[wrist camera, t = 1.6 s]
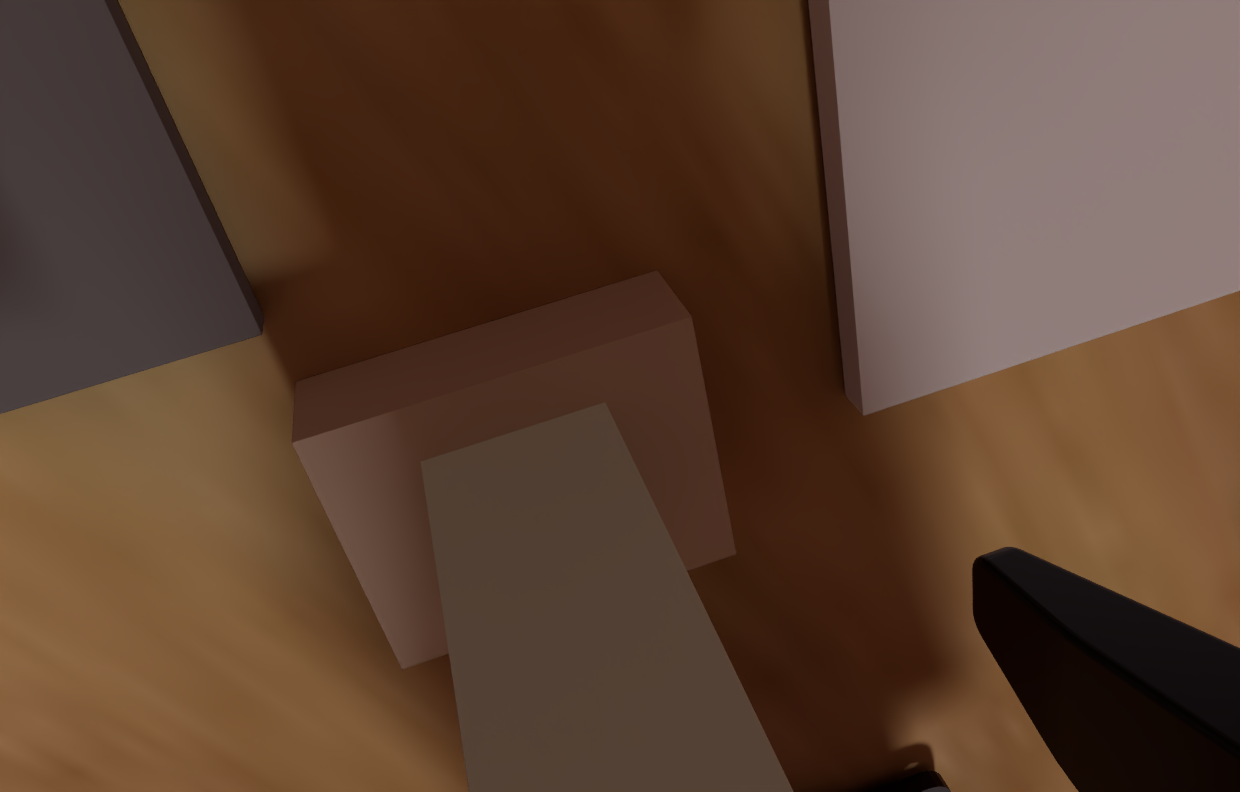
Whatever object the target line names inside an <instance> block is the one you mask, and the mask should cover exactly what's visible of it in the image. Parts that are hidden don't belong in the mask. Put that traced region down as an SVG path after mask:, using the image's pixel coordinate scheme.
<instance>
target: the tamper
mask: <svg viewBox="0 0 1240 792" xmlns="http://www.w3.org/2000/svg"><path fill="white" fill-rule="evenodd" d="M292 444H293V446H294V448H295V451H296V453H297V455H298V457H299V459H300V461H301V463H302V465H303V467H304V469H305V471H306V473H307V475H308V477H309V479H310V481H311V483H312V485H313V487H314V490H315V492H316V494H317V496H318V498H319V500H320V502H321V504H322V506H323V508H324V510H325V512H326V514H327V516H328V518H329V520H330V522H331V524H332V526H333V529H334V531H335V533H336V535H337V537H338V539H339V541H340V543H341V545H342V547H343V549H344V551H345V553H346V555H347V557H348V559H349V561H350V563H351V566H352V568H353V570H354V572H355V574H356V576H357V578H358V580H359V582H360V584H361V586H362V588H363V590H364V592H365V594H366V596H367V598H368V600H369V602H370V605H371V607H372V609H373V611H374V613H375V615H376V617H377V619H378V621H379V623H380V625H381V627H382V629H383V631H384V633H385V635H386V637H387V639H388V641H389V644H390V646H391V648H392V650H393V652H394V654H395V656H396V658H397V660H398V662H399V664H400V666H401V668H402V669H405V668H408V667H411V666H414V665H417V664H420V663H423V662H426V661H428V660H431V659H434V658H437V657H440V656H443V655H446V654H449V658H450V665H451V672H452V679H453V685H454V692H455V699H456V706H457V713H458V719H459V726H460V733H461V740H462V746H463V753H464V760H465V767H466V774H467V780H468V787H469V792H793V790H792V788H791V785H790V783H789V781H788V779H787V777H786V775H785V773H784V771H783V769H782V767H781V765H780V763H779V761H778V759H777V756H776V754H775V752H774V750H773V748H772V746H771V744H770V742H769V740H768V738H767V736H766V734H765V732H764V730H763V728H762V725H761V723H760V721H759V719H758V717H757V715H756V713H755V711H754V709H753V707H752V705H751V703H750V701H749V699H748V696H747V694H746V692H745V690H744V688H743V686H742V684H741V682H740V680H739V678H738V676H737V674H736V672H735V670H734V667H733V665H732V663H731V661H730V659H729V657H728V655H727V653H726V651H725V649H724V647H723V645H722V643H721V641H720V639H719V636H718V634H717V632H716V630H715V628H714V626H713V624H712V622H711V620H710V618H709V616H708V614H707V612H706V610H705V607H704V605H703V603H702V601H701V599H700V597H699V595H698V593H697V591H696V589H695V587H694V585H693V583H692V581H691V579H690V576H689V574H688V572H687V571H689V570H692V569H695V568H698V567H701V566H704V565H706V564H709V563H712V562H715V561H718V560H721V559H724V558H727V557H730V556H733V555H735V554H736V548H735V543H734V538H733V532H732V527H731V522H730V517H729V511H728V506H727V501H726V495H725V490H724V485H723V479H722V474H721V469H720V463H719V458H718V453H717V447H716V442H715V437H714V432H713V426H712V421H711V416H710V410H709V405H708V400H707V394H706V389H705V384H704V378H703V373H702V368H701V363H700V357H699V352H698V347H697V341H696V336H695V331H694V325H693V320H692V316H691V315H690V314H689V312H688V311H687V310H686V308H685V307H684V306H683V304H682V303H681V301H680V300H679V299H678V297H677V296H676V295H675V293H674V292H673V291H672V289H671V288H670V287H669V285H668V284H667V283H666V281H665V280H664V279H663V277H662V276H661V275H660V273H659V272H658V271H657V270H656V271H653V272H650V273H646V274H643V275H640V276H637V277H633V278H630V279H627V280H624V281H620V282H617V283H614V284H611V285H607V286H604V287H601V288H598V289H595V290H591V291H588V292H585V293H582V294H578V295H575V296H572V297H569V298H565V299H562V300H559V301H556V302H552V303H549V304H546V305H543V306H540V307H536V308H533V309H530V310H527V311H523V312H520V313H517V314H514V315H510V316H507V317H504V318H501V319H497V320H494V321H491V322H488V323H484V324H481V325H478V326H475V327H472V328H468V329H465V330H462V331H459V332H455V333H452V334H449V335H446V336H442V337H439V338H436V339H433V340H429V341H426V342H423V343H420V344H416V345H413V346H410V347H407V348H404V349H400V350H397V351H394V352H391V353H387V354H384V355H381V356H378V357H374V358H371V359H368V360H365V361H361V362H358V363H355V364H352V365H349V366H345V367H342V368H339V369H336V370H332V371H329V372H326V373H323V374H319V375H316V376H313V377H310V378H306V379H303V380H300V381H297V382H295V397H294V414H293V432H292Z"/></svg>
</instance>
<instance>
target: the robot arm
mask: <svg viewBox="0 0 1240 792" xmlns="http://www.w3.org/2000/svg"><path fill="white" fill-rule="evenodd" d="M972 584H973V616H974V620H975V623H976V626H977V628H978V631H979V633H980V635H981V636H982V638H983V640H984V642H985V643H986V645H987V647H988V648H989V650H990V652H991V653H992V655H993V657H994V658H995V660H996V662H997V663H998V665H999V667H1000V668H1001V670H1002V672H1003V673H1004V675H1005V677H1006V678H1007V680H1008V682H1009V683H1010V685H1011V687H1012V688H1013V690H1014V692H1015V693H1016V695H1017V697H1018V698H1019V700H1020V702H1021V704H1022V705H1023V707H1024V709H1025V710H1026V712H1027V714H1028V715H1029V717H1030V719H1031V720H1032V722H1033V724H1034V725H1035V727H1036V729H1037V730H1038V732H1039V734H1040V735H1041V737H1042V739H1043V740H1044V742H1045V744H1046V745H1047V747H1048V748H1049V750H1050V751H1051V753H1052V755H1053V756H1054V758H1055V759H1056V761H1057V762H1058V764H1059V765H1060V767H1061V768H1062V769H1063V771H1064V772H1065V774H1066V775H1067V776H1068V778H1069V779H1070V781H1071V782H1072V783H1073V785H1074V786H1075V787H1076V789H1077V790H1078V791H1079V792H1240V648H1238V647H1236V646H1234V645H1232V644H1230V643H1227V642H1225V641H1223V640H1221V639H1218V638H1216V637H1214V636H1212V635H1210V634H1207V633H1205V632H1203V631H1201V630H1198V629H1196V628H1194V627H1192V626H1190V625H1187V624H1185V623H1183V622H1181V621H1178V620H1176V619H1174V618H1172V617H1170V616H1167V615H1165V614H1163V613H1161V612H1158V611H1156V610H1154V609H1152V608H1150V607H1147V606H1145V605H1143V604H1141V603H1138V602H1136V601H1134V600H1132V599H1130V598H1127V597H1125V596H1123V595H1121V594H1118V593H1116V592H1114V591H1112V590H1110V589H1107V588H1105V587H1103V586H1101V585H1098V584H1096V583H1094V582H1092V581H1090V580H1087V579H1085V578H1083V577H1081V576H1078V575H1076V574H1074V573H1072V572H1070V571H1067V570H1065V569H1063V568H1061V567H1058V566H1056V565H1054V564H1052V563H1050V562H1047V561H1045V560H1043V559H1041V558H1038V557H1036V556H1034V555H1032V554H1030V553H1027V552H1025V551H1023V550H1021V549H1018V548H1014V547H1005V548H1001V549H998V550H996V551H993V552H990V553H987V554H984V555H982V556H979V557H978V558H976V559H975V561H974V563H973V568H972ZM870 792H951V791H950V789H949V788H948V786H947V785H946V783H945V781H944V780H943V778H942V777H941V775H940V774H939V773H937V772H935V771H925V772H920V773H917V774H915V775H912V776H909V777H907V778H904V779H902V780H899V781H896V782H894V783H891V784H888V785H886V786H883V787H880V788H878V789H875V790H872V791H870Z"/></svg>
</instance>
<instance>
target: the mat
mask: <svg viewBox="0 0 1240 792" xmlns="http://www.w3.org/2000/svg"><path fill="white" fill-rule="evenodd" d="M263 324H264V315H263V313H262V311H261V309H260V307H259V304H258V302H257V300H256V298H255V296H254V294H253V291H252V289H251V287H250V285H249V283H248V281H247V279H246V276H245V274H244V272H243V270H242V268H241V266H240V264H239V261H238V259H237V257H236V255H235V253H234V251H233V248H232V246H231V244H230V242H229V240H228V238H227V236H226V233H225V231H224V229H223V227H222V225H221V223H220V221H219V218H218V216H217V214H216V212H215V210H214V208H213V205H212V203H211V201H210V199H209V197H208V195H207V193H206V190H205V188H204V186H203V184H202V182H201V180H200V177H199V175H198V173H197V171H196V169H195V167H194V165H193V162H192V160H191V158H190V156H189V154H188V152H187V150H186V147H185V145H184V143H183V141H182V139H181V137H180V134H179V132H178V130H177V128H176V126H175V124H174V122H173V119H172V117H171V115H170V113H169V111H168V109H167V107H166V104H165V102H164V100H163V98H162V96H161V94H160V91H159V89H158V87H157V85H156V83H155V81H154V79H153V76H152V74H151V72H150V70H149V68H148V66H147V63H146V61H145V59H144V57H143V55H142V53H141V51H140V48H139V46H138V44H137V42H136V40H135V38H134V36H133V33H132V31H131V29H130V27H129V25H128V23H127V20H126V18H125V16H124V14H123V12H122V10H121V8H120V5H119V3H118V1H117V0H0V414H1V413H5V412H8V411H11V410H15V409H18V408H21V407H24V406H28V405H31V404H34V403H38V402H41V401H44V400H48V399H51V398H54V397H58V396H61V395H64V394H67V393H71V392H74V391H77V390H81V389H84V388H87V387H91V386H94V385H97V384H101V383H104V382H107V381H111V380H114V379H117V378H120V377H124V376H127V375H130V374H134V373H137V372H140V371H144V370H147V369H150V368H154V367H157V366H160V365H163V364H167V363H170V362H173V361H177V360H180V359H183V358H187V357H190V356H193V355H197V354H200V353H203V352H206V351H210V350H213V349H216V348H220V347H223V346H226V345H230V344H233V343H236V342H240V341H243V340H246V339H250V338H253V337H256V336H259V335H262V332H263Z"/></svg>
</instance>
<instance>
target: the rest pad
mask: <svg viewBox="0 0 1240 792" xmlns="http://www.w3.org/2000/svg"><path fill="white" fill-rule="evenodd" d="M808 3H809V14H810V25H811V35H812V46H813V56H814V67H815V78H816V88H817V99H818V110H819V120H820V131H821V141H822V152H823V163H824V173H825V184H826V194H827V205H828V216H829V226H830V237H831V247H832V258H833V269H834V279H835V290H836V300H837V311H838V322H839V332H840V343H841V353H842V364H843V375H844V385H845V396H846V397H847V398H848V400H849V401H850V402H851V403H852V404H853V405H854V406H855V407H856V408H857V409H858V411H859V412H860V413H861V414H862V415H863V416H865V415H868V414H871V413H874V412H877V411H880V410H883V409H886V408H889V407H892V406H895V405H898V404H901V403H904V402H907V401H910V400H913V399H916V398H919V397H922V396H925V395H928V394H931V393H934V392H937V391H940V390H943V389H946V388H949V387H952V386H955V385H958V384H961V383H964V382H967V381H970V380H973V379H976V378H979V377H982V376H985V375H988V374H991V373H994V372H997V371H1000V370H1003V369H1006V368H1009V367H1012V366H1015V365H1018V364H1021V363H1024V362H1027V361H1030V360H1033V359H1036V358H1039V357H1042V356H1045V355H1048V354H1051V353H1054V352H1057V351H1060V350H1063V349H1066V348H1069V347H1072V346H1075V345H1078V344H1081V343H1084V342H1087V341H1090V340H1093V339H1096V338H1099V337H1102V336H1105V335H1108V334H1111V333H1114V332H1117V331H1120V330H1123V329H1126V328H1129V327H1132V326H1135V325H1138V324H1141V323H1144V322H1147V321H1150V320H1153V319H1156V318H1159V317H1162V316H1165V315H1168V314H1171V313H1174V312H1177V311H1180V310H1183V309H1186V308H1189V307H1192V306H1195V305H1198V304H1201V303H1204V302H1207V301H1210V300H1213V299H1216V298H1219V297H1222V296H1225V295H1228V294H1231V293H1234V292H1237V291H1240V0H808Z"/></svg>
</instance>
